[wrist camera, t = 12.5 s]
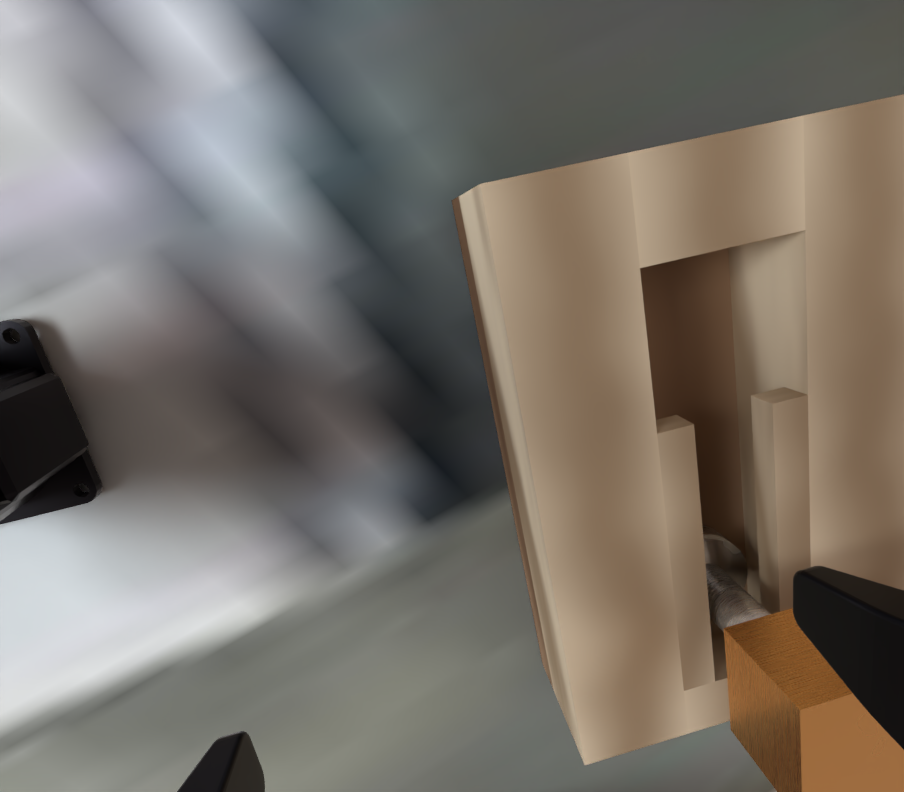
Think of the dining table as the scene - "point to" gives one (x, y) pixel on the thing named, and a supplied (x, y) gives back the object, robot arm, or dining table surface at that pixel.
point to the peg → (792, 694)
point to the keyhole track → (692, 394)
